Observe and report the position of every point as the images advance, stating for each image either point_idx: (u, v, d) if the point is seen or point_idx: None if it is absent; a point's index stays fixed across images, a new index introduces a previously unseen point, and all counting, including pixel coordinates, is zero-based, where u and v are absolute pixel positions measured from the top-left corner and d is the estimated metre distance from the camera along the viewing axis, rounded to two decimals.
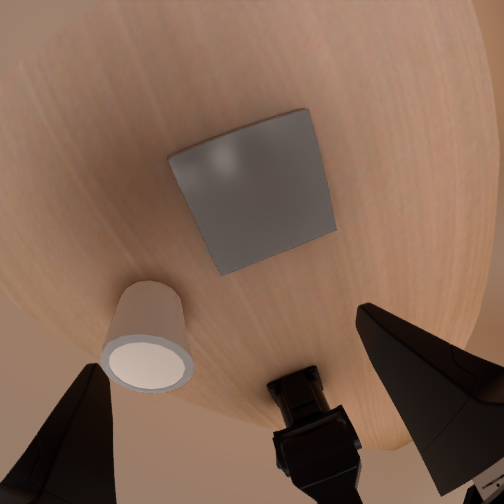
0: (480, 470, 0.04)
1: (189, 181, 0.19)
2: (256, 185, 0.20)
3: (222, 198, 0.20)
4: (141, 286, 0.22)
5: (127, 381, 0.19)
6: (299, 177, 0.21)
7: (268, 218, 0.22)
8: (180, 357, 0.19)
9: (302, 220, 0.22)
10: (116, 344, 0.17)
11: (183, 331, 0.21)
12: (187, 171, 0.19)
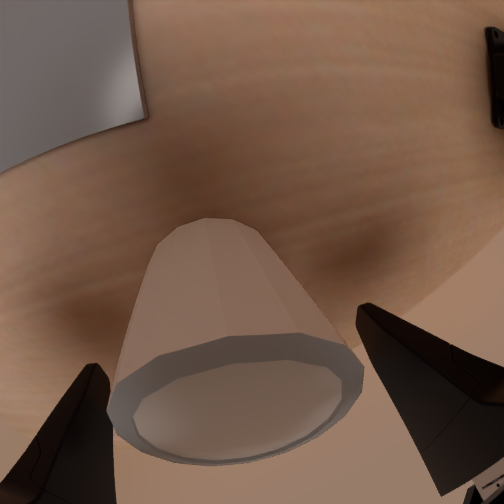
0: (480, 470, 0.04)
1: None
2: None
3: None
4: None
5: (279, 445, 0.08)
6: None
7: (38, 19, 0.05)
8: (219, 364, 0.05)
9: None
10: (144, 447, 0.07)
11: (198, 281, 0.07)
12: None
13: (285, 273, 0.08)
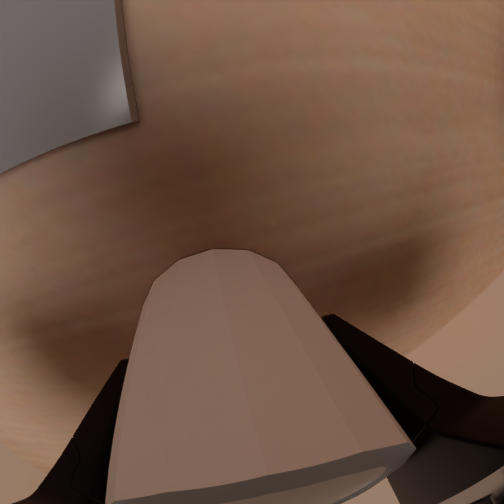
0: (440, 499, 0.04)
1: None
2: None
3: None
4: None
5: None
6: None
7: (3, 2, 0.03)
8: (252, 492, 0.03)
9: None
10: None
11: (213, 364, 0.05)
12: None
13: (323, 335, 0.06)
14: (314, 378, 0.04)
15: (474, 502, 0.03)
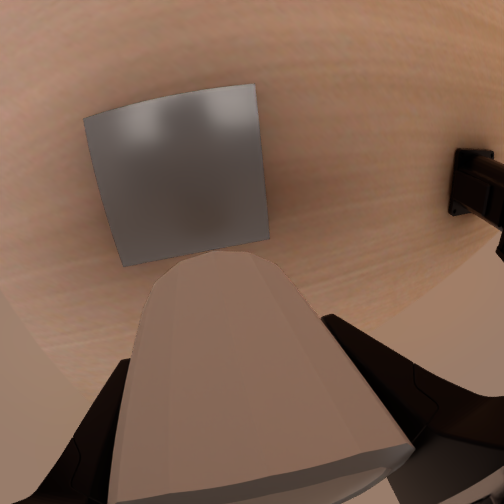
0: (440, 499, 0.04)
1: (148, 251, 0.18)
2: (165, 184, 0.17)
3: (172, 222, 0.18)
4: None
5: None
6: (164, 130, 0.15)
7: (210, 174, 0.17)
8: (253, 493, 0.03)
9: (225, 131, 0.16)
10: None
11: (214, 367, 0.05)
12: (138, 251, 0.18)
13: (323, 336, 0.06)
14: (314, 380, 0.05)
15: (474, 502, 0.03)
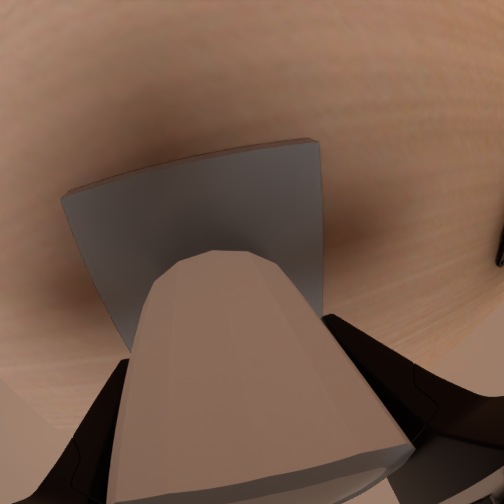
0: (440, 499, 0.04)
1: None
2: None
3: None
4: None
5: None
6: (185, 217, 0.11)
7: None
8: (252, 493, 0.03)
9: (275, 213, 0.11)
10: None
11: (213, 366, 0.05)
12: None
13: (323, 336, 0.06)
14: (314, 380, 0.04)
15: (474, 502, 0.03)
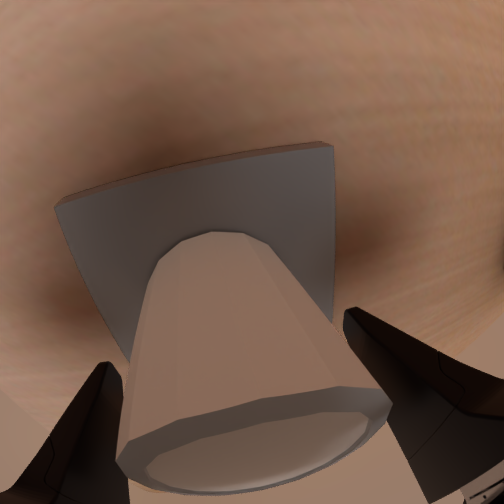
0: (466, 481, 0.04)
1: None
2: None
3: None
4: None
5: (295, 475, 0.07)
6: (188, 226, 0.10)
7: None
8: (248, 422, 0.04)
9: (286, 223, 0.11)
10: (155, 486, 0.06)
11: (215, 319, 0.06)
12: None
13: (307, 301, 0.07)
14: (298, 330, 0.06)
15: (499, 481, 0.03)
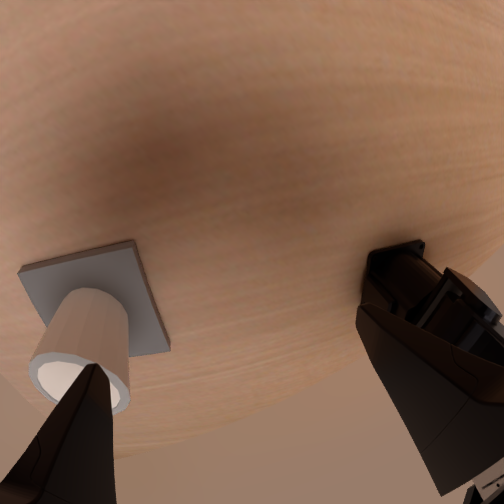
0: (480, 470, 0.04)
1: None
2: None
3: None
4: None
5: None
6: (73, 285, 0.18)
7: None
8: (55, 360, 0.13)
9: (117, 285, 0.19)
10: (46, 395, 0.14)
11: (58, 328, 0.14)
12: None
13: (99, 326, 0.16)
14: (79, 336, 0.14)
15: None
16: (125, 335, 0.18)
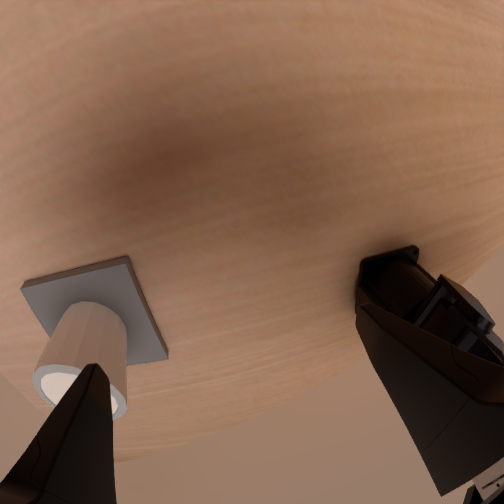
0: (480, 470, 0.04)
1: None
2: None
3: None
4: None
5: None
6: (73, 299, 0.19)
7: None
8: (55, 371, 0.13)
9: (113, 298, 0.20)
10: (50, 402, 0.15)
11: (59, 341, 0.15)
12: None
13: (96, 338, 0.17)
14: (77, 348, 0.15)
15: None
16: (122, 346, 0.19)
